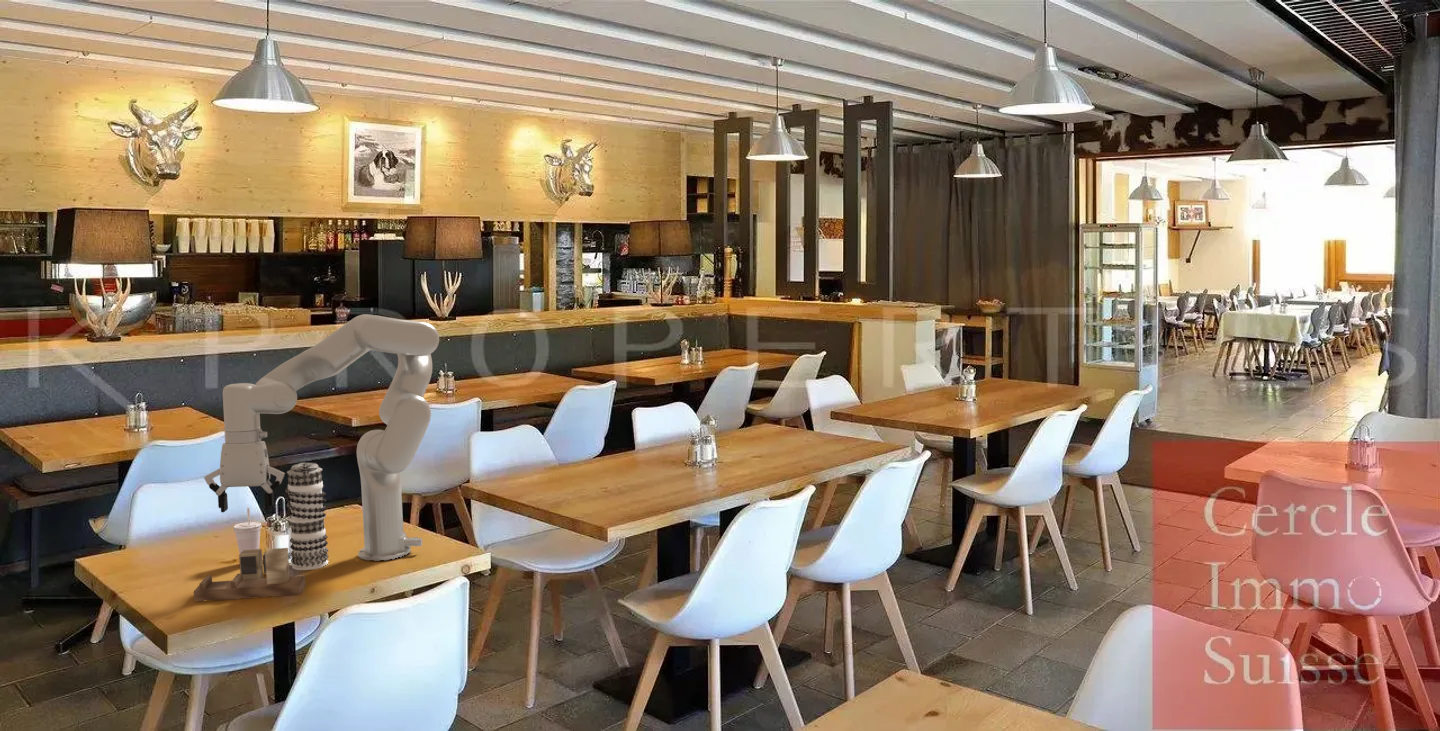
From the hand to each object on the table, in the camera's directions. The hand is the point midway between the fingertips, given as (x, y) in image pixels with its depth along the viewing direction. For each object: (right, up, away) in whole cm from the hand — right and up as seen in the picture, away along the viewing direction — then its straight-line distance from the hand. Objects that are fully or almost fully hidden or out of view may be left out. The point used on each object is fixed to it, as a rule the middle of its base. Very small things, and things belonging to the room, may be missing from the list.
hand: (246, 510), depth 246 cm
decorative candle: (+9, -16, +14) cm, 23 cm away
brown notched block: (+4, -18, -8) cm, 20 cm away
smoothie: (-6, -16, +16) cm, 23 cm away
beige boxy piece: (0, -17, +2) cm, 17 cm away
